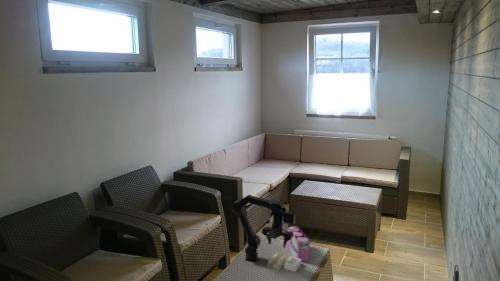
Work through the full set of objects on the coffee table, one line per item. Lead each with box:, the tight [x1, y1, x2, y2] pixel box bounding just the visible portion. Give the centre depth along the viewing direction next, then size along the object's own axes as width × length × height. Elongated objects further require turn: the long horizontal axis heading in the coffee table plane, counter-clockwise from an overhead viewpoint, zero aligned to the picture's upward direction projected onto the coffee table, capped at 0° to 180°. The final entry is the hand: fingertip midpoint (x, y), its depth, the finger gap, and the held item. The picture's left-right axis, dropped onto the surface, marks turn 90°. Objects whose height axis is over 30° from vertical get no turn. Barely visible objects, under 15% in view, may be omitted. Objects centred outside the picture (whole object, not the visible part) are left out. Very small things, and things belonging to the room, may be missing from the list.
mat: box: [265, 258, 288, 271], centre depth 228 cm, size 9×13×1 cm
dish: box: [283, 256, 302, 272], centre depth 224 cm, size 7×10×4 cm
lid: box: [267, 253, 286, 269], centre depth 228 cm, size 6×11×3 cm, turn 152°
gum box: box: [286, 225, 311, 262], centre depth 241 cm, size 24×8×14 cm, turn 13°
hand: (277, 246), depth 226 cm, fingers open, 9 cm apart
